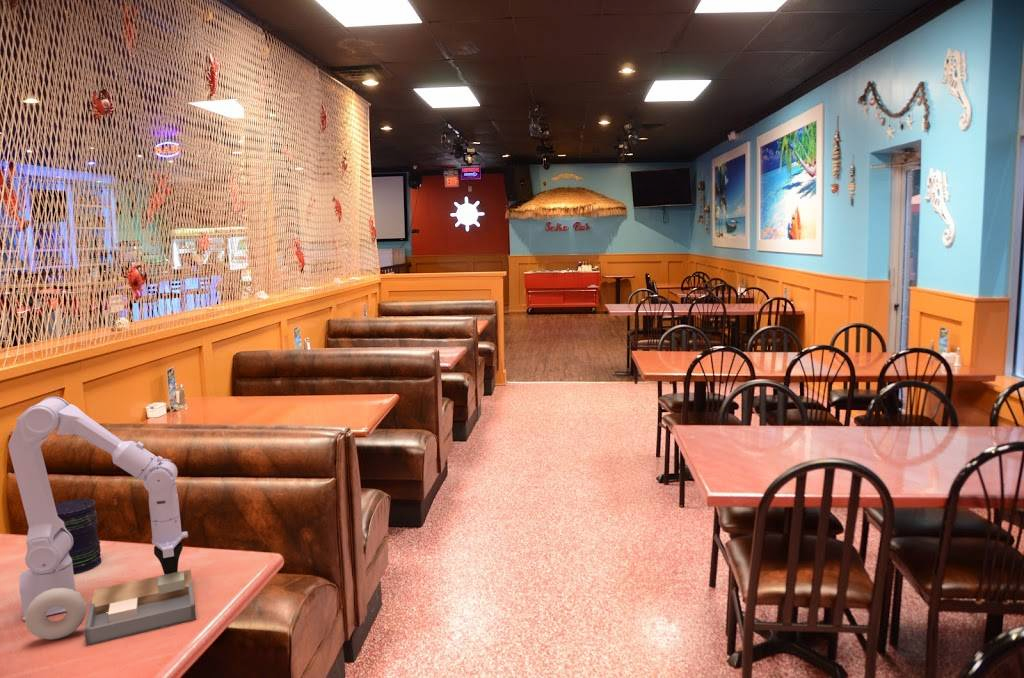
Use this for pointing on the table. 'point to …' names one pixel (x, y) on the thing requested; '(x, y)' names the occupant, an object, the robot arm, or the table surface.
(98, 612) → the oak board
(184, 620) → the box
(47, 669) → the table surface
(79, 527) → the storage jar
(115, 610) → the cream tile
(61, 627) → the donut
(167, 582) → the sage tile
